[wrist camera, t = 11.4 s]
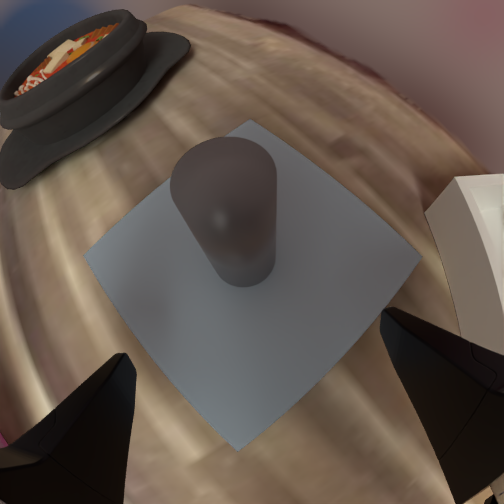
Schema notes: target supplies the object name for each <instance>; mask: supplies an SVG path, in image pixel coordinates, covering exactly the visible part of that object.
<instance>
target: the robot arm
mask: <svg viewBox="0 0 504 504" xmlns="http://www.w3.org/2000/svg"><path fill="white" fill-rule="evenodd" d="M380 333H381V336H382V338H383V341H384V343H385V346H386V348H387V351H388V353H389V356H390V359H391V361H392V364H393V366H394V368H395V370H396V373H397V374H398V376H399V378H400V380H401V382H402V384H403V386H404V388H405V390H406V392H407V394H408V396H409V398H410V400H411V402H412V404H413V406H414V408H415V410H416V412H417V414H418V416H419V419H420V421H421V423H422V425H423V427H424V429H425V431H426V433H427V436H428V438H429V440H430V442H431V445H432V447H433V449H434V451H435V454H436V456H437V458H438V460H439V463H440V466H441V468H442V470H443V473H444V475H445V478H446V480H447V483H448V485H449V488H450V490H451V493H452V496H453V498H454V501H455V504H464V503H465V502H467V501H468V500H470V499H472V498H473V497H475V496H476V495H478V494H479V493H481V492H482V491H484V490H485V489H486V488H488V487H489V486H490V488H491V490H492V492H493V495H492V496H490V497H489V498H487V499H486V500H485V502H484V504H504V355H502V354H499V353H496V352H494V351H491V350H489V349H486V348H484V347H482V346H479V345H477V344H475V343H473V342H469V341H468V340H466V339H464V338H462V337H460V336H457V335H455V334H453V333H451V332H449V331H446V330H444V329H442V328H440V327H438V326H435V325H433V324H431V323H429V322H427V321H424V320H422V319H420V318H418V317H416V316H413V315H411V314H409V313H407V312H404V311H402V310H400V309H398V308H396V307H388V308H385V309H383V310H382V312H381V320H380ZM136 377H137V372H136V369H135V367H134V365H133V363H132V362H131V360H130V358H129V356H128V355H127V354H126V353H116V354H115V355H113V356H112V357H111V358H110V359H109V360H108V361H107V362H106V363H104V364H103V365H102V366H101V367H100V368H99V369H98V370H97V371H96V372H94V373H93V374H92V375H91V376H90V377H89V378H88V379H87V380H86V381H84V382H83V383H82V384H81V385H80V386H79V387H78V388H77V389H76V390H74V391H73V392H72V393H71V394H70V395H69V396H68V397H67V398H66V399H64V400H63V401H62V402H61V403H60V404H59V405H58V406H57V407H56V408H55V409H53V410H52V411H51V412H50V413H49V414H48V415H47V416H46V417H45V418H43V419H42V420H41V421H40V422H39V423H38V424H36V425H35V426H34V427H33V428H31V429H30V430H29V431H27V432H26V433H25V434H24V435H22V436H21V437H20V438H18V439H17V440H16V441H14V442H13V443H12V444H10V445H9V446H6V447H3V448H0V504H123V502H124V489H125V478H126V468H127V460H128V451H129V444H130V436H131V429H132V423H133V416H134V409H135V392H136Z"/></svg>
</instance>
